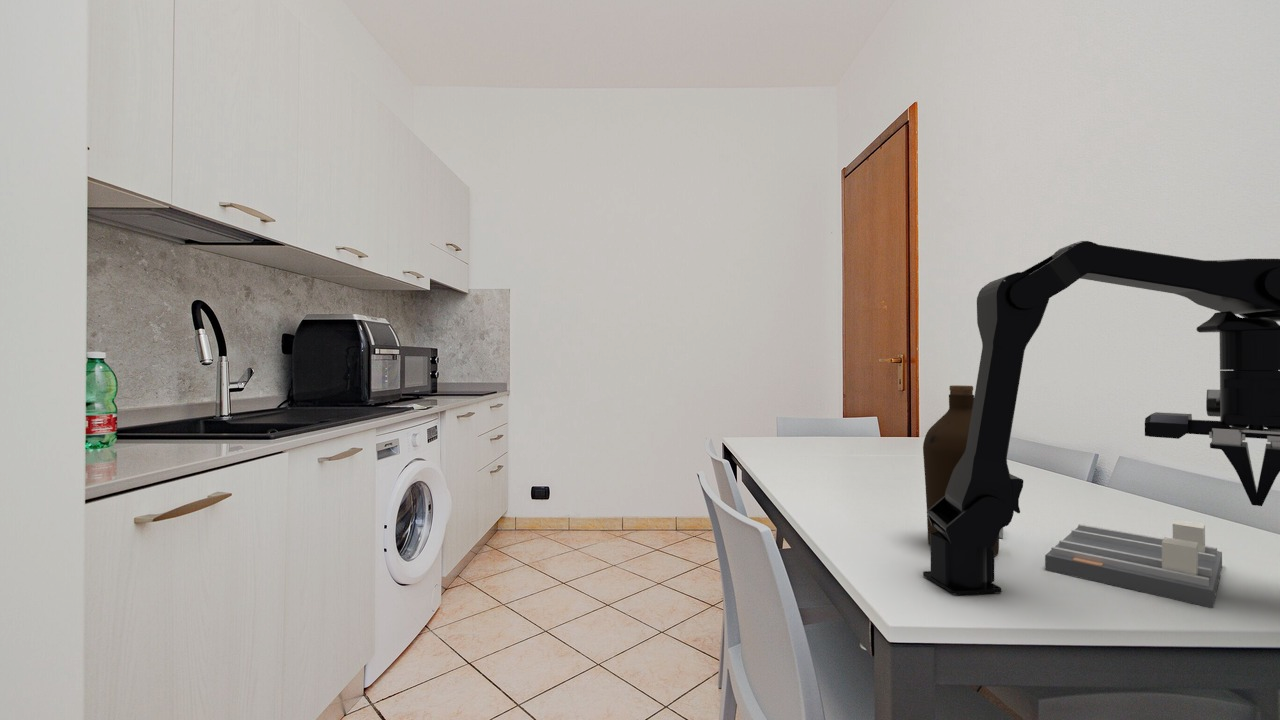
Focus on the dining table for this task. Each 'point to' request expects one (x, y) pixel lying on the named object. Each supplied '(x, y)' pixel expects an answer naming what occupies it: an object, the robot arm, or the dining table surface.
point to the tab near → (1180, 556)
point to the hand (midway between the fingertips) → (1256, 505)
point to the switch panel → (1133, 564)
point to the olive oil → (947, 447)
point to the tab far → (1190, 533)
